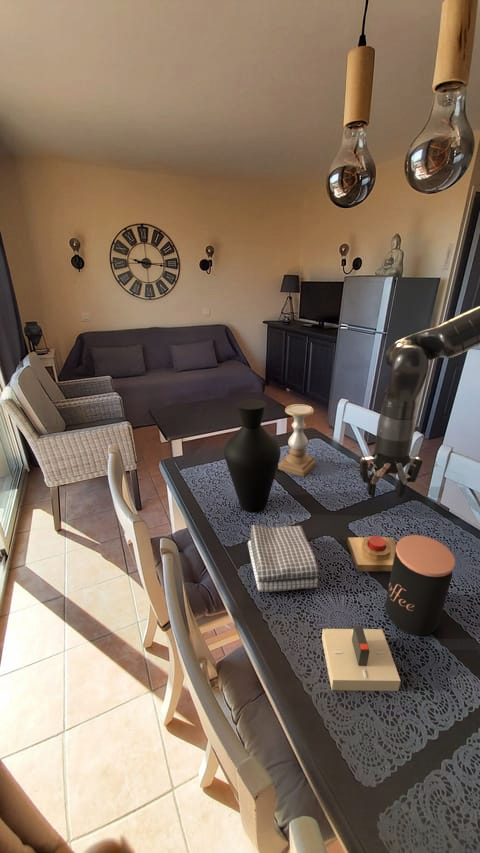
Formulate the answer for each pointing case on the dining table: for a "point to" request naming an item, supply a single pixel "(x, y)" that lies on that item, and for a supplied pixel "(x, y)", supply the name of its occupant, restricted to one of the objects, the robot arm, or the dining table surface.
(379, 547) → the button
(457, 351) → the robot arm
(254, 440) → the vase
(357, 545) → the switch block
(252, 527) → the towel
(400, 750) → the dining table surface
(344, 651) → the panel
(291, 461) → the candle holder
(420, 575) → the coffee jar
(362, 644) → the dark grey block
